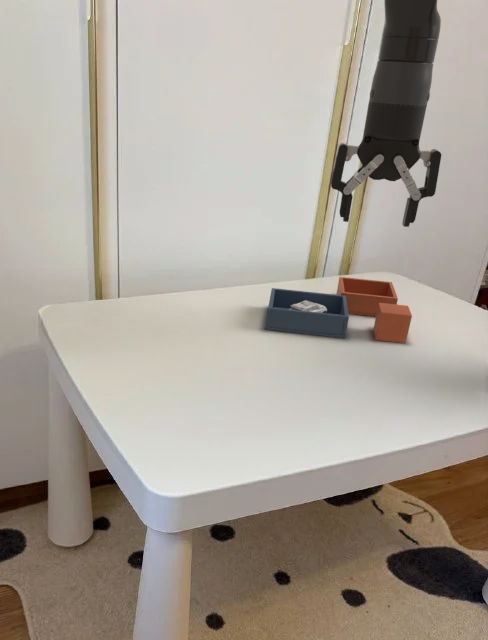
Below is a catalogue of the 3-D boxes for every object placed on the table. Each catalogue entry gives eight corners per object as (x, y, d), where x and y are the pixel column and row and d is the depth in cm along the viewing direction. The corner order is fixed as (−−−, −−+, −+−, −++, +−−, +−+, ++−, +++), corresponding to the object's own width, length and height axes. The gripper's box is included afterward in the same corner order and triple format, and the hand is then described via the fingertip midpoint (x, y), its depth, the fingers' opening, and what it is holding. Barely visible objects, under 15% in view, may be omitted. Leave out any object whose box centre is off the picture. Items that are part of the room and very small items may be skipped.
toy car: (330, 317, 103) (333, 299, 102) (300, 328, 98) (303, 309, 97) (312, 310, 106) (315, 293, 104) (282, 320, 101) (284, 303, 99)
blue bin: (342, 315, 106) (345, 295, 104) (345, 338, 97) (348, 317, 95) (269, 307, 107) (271, 287, 106) (265, 329, 98) (268, 308, 97)
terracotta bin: (388, 300, 114) (392, 281, 112) (393, 318, 106) (398, 298, 104) (336, 295, 115) (339, 276, 113) (337, 312, 107) (341, 292, 105)
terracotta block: (402, 332, 100) (408, 305, 98) (405, 343, 96) (412, 315, 94) (373, 329, 101) (378, 302, 99) (375, 340, 97) (381, 312, 95)
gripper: (448, 102, 87) (421, 222, 94) (342, 95, 89) (325, 213, 96) (459, 105, 80) (429, 233, 88) (345, 98, 82) (326, 224, 90)
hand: (375, 223), depth 92 cm, fingers open, 8 cm apart
